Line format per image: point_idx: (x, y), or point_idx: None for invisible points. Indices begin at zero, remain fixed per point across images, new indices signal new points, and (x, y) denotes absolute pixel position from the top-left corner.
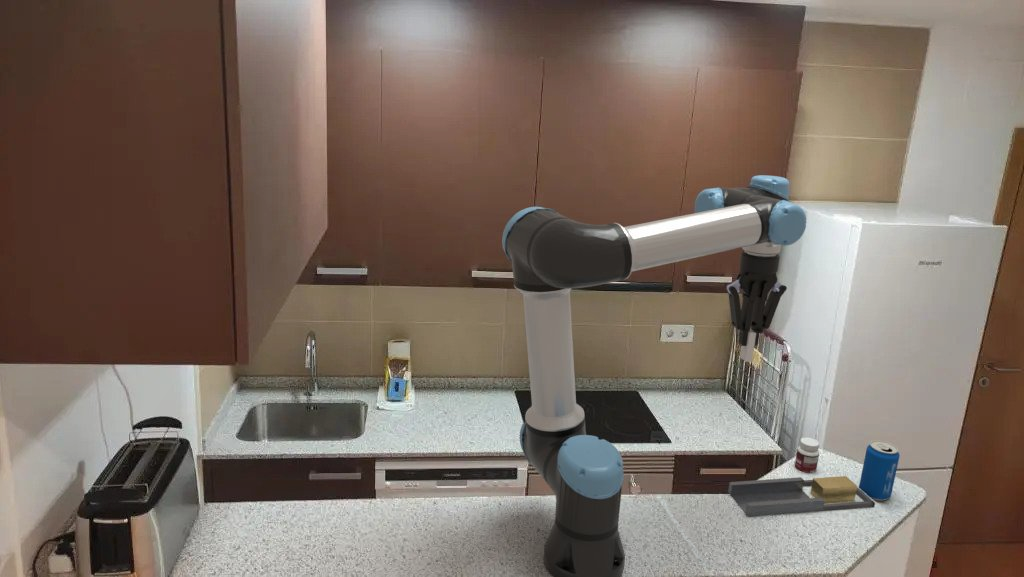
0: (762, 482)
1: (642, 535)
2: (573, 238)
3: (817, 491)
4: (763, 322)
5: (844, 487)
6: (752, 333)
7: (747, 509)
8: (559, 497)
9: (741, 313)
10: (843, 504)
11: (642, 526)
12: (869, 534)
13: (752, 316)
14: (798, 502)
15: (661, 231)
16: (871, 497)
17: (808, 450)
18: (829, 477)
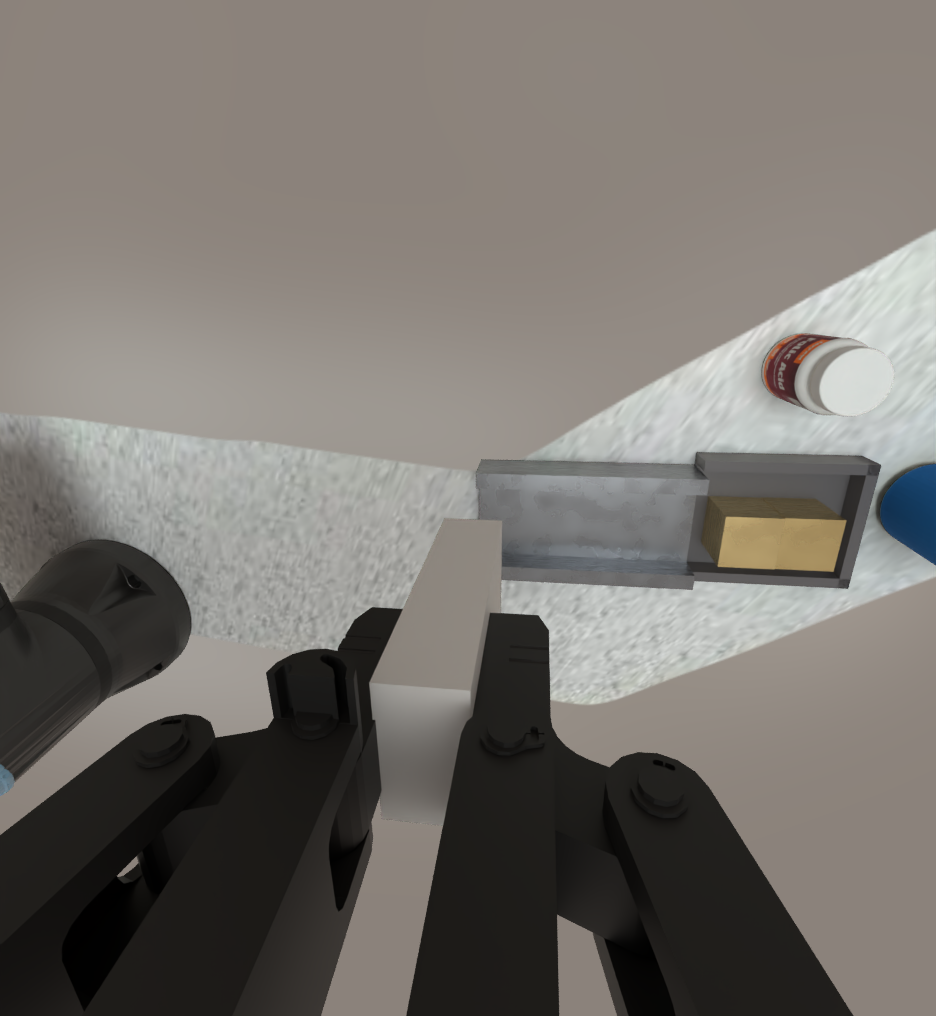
0: (571, 488)
1: (239, 557)
2: None
3: (714, 535)
4: (625, 916)
5: (787, 569)
6: (423, 814)
7: None
8: None
9: (128, 966)
10: (749, 581)
11: (245, 530)
12: (745, 638)
13: (429, 922)
14: (613, 585)
15: None
16: (886, 529)
17: (819, 406)
18: (784, 519)
